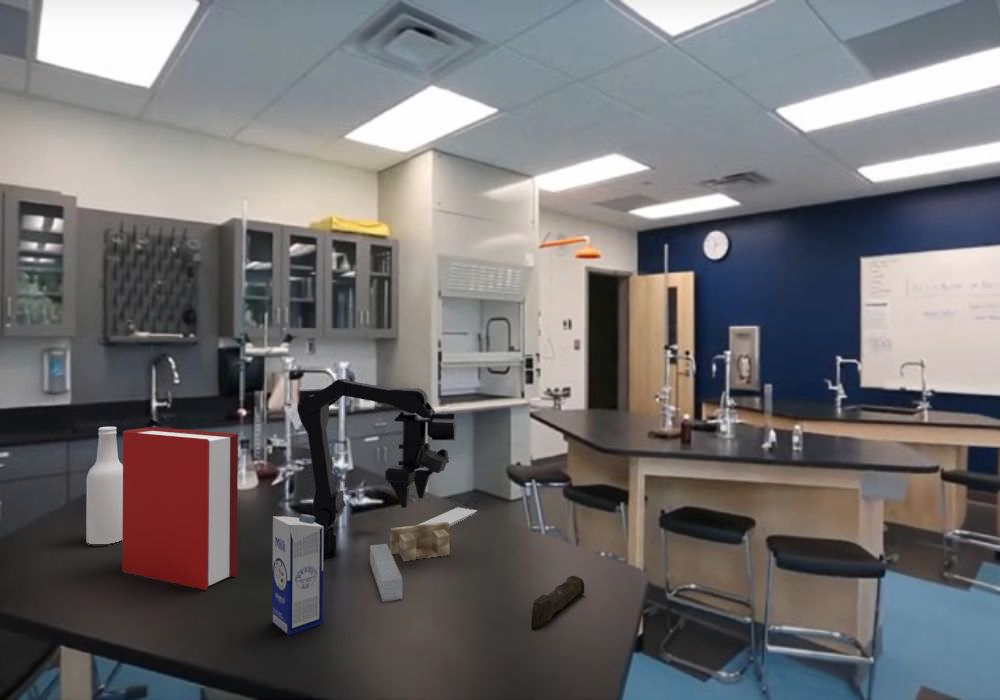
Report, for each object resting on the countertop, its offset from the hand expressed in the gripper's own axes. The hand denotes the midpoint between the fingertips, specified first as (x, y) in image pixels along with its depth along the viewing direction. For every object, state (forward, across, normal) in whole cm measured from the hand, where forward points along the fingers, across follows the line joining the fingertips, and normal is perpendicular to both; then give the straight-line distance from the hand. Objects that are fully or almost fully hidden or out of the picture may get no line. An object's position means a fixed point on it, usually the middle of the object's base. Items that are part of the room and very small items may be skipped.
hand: (412, 502), depth 141 cm
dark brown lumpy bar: (+13, -18, -40) cm, 46 cm away
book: (+14, -27, +45) cm, 54 cm away
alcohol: (+14, -16, +80) cm, 83 cm away
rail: (+14, -15, -1) cm, 20 cm away
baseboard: (+14, +26, +5) cm, 30 cm away
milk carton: (+14, -38, +5) cm, 40 cm away
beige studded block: (+13, +3, -2) cm, 13 cm away
